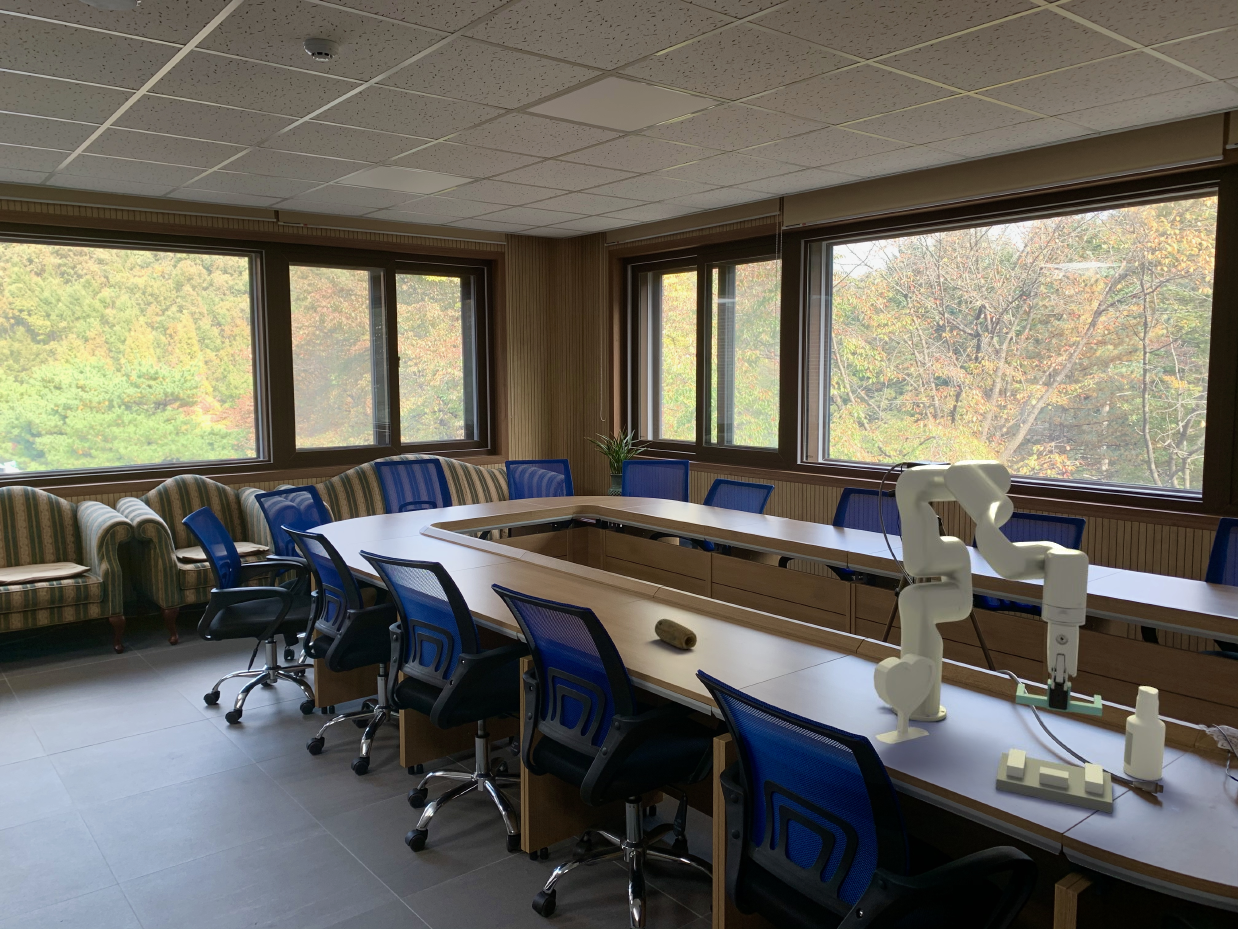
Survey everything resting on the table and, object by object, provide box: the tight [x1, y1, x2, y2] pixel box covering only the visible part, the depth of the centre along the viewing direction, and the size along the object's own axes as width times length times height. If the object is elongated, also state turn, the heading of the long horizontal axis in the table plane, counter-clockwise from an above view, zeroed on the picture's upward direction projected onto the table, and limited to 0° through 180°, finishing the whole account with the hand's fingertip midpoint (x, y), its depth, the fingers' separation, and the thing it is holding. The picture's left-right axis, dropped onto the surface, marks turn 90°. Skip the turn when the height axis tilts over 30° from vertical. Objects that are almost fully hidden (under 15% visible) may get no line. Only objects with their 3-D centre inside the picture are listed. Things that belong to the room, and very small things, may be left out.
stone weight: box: [654, 618, 698, 650], centre depth 264 cm, size 15×7×7 cm, turn 36°
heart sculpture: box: [873, 654, 936, 745], centre depth 198 cm, size 16×5×18 cm, turn 118°
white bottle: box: [1122, 685, 1167, 782], centre depth 180 cm, size 7×7×18 cm
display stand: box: [995, 747, 1113, 814], centre depth 175 cm, size 20×14×4 cm
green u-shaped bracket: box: [1015, 678, 1103, 717], centre depth 174 cm, size 15×10×5 cm, turn 63°
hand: (1057, 704), depth 171 cm, fingers closed on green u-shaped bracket, 2 cm apart
